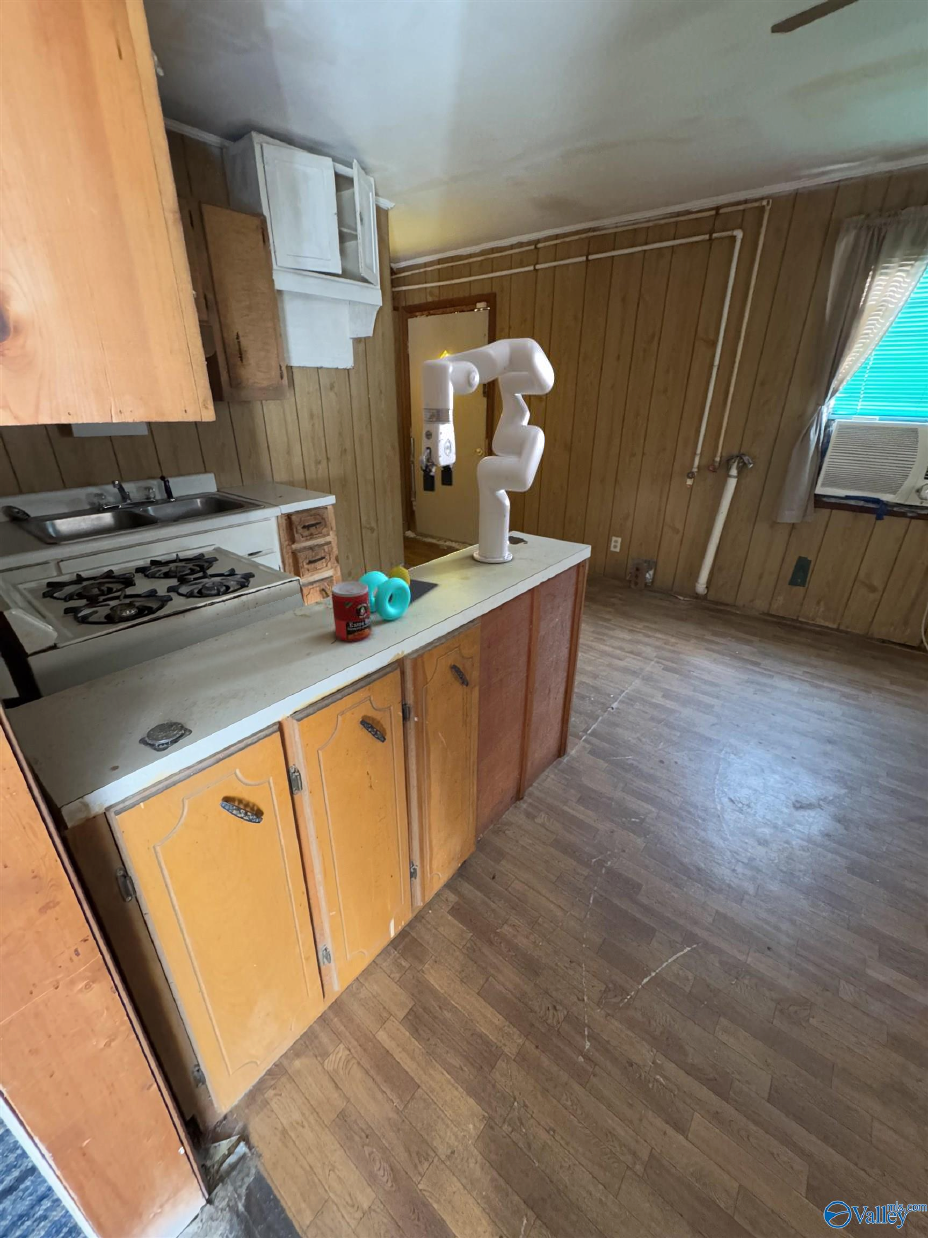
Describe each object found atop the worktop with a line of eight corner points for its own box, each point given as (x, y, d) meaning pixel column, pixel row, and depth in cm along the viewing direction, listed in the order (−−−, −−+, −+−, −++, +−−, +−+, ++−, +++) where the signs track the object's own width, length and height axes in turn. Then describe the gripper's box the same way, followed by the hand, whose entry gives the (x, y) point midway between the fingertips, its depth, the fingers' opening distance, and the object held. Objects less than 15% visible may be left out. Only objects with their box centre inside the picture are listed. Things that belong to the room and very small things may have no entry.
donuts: (385, 603, 127) (383, 565, 123) (413, 614, 121) (412, 574, 117) (354, 615, 120) (350, 575, 116) (381, 627, 114) (379, 585, 110)
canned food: (350, 645, 105) (345, 596, 101) (328, 634, 110) (323, 587, 106) (379, 634, 110) (375, 587, 106) (357, 623, 115) (353, 578, 111)
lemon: (412, 591, 133) (411, 562, 130) (408, 599, 128) (406, 569, 125) (391, 590, 134) (390, 561, 131) (386, 598, 129) (385, 568, 126)
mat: (406, 579, 143) (406, 578, 143) (437, 585, 139) (437, 583, 139) (370, 600, 128) (370, 599, 128) (404, 607, 124) (404, 606, 124)
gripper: (434, 418, 114) (435, 494, 121) (466, 416, 128) (465, 484, 135) (406, 417, 117) (408, 492, 124) (440, 415, 131) (440, 482, 138)
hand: (438, 488), depth 129 cm, fingers open, 9 cm apart
